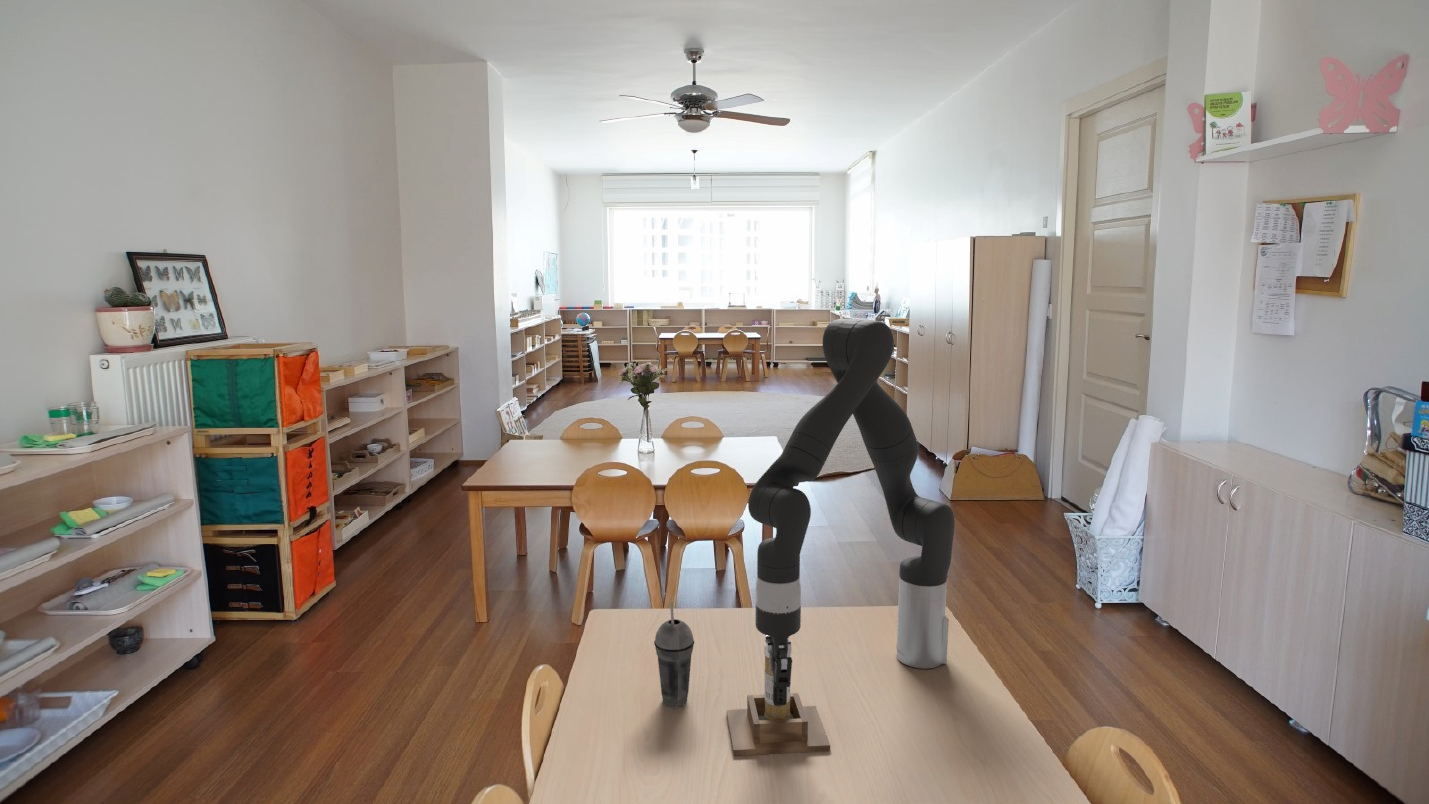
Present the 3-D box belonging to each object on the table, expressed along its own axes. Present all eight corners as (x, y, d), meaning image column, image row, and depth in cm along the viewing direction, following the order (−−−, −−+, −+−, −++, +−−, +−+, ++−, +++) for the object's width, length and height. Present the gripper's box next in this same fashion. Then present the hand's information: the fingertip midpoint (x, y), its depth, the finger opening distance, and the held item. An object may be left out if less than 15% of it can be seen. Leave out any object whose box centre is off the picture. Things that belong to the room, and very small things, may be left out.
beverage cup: (700, 694, 150) (699, 592, 146) (686, 714, 143) (685, 609, 139) (664, 687, 152) (662, 587, 149) (648, 707, 145) (646, 603, 142)
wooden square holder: (815, 711, 144) (815, 687, 143) (830, 750, 132) (830, 725, 131) (726, 715, 143) (726, 691, 142) (733, 755, 131) (733, 730, 130)
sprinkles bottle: (795, 718, 136) (796, 644, 134) (774, 727, 134) (775, 652, 132) (779, 706, 140) (779, 634, 138) (758, 714, 138) (758, 641, 135)
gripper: (808, 619, 127) (807, 718, 130) (793, 583, 141) (791, 674, 144) (761, 621, 126) (761, 721, 129) (750, 585, 140) (750, 676, 143)
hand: (777, 696), depth 136 cm, fingers closed on sprinkles bottle, 4 cm apart
